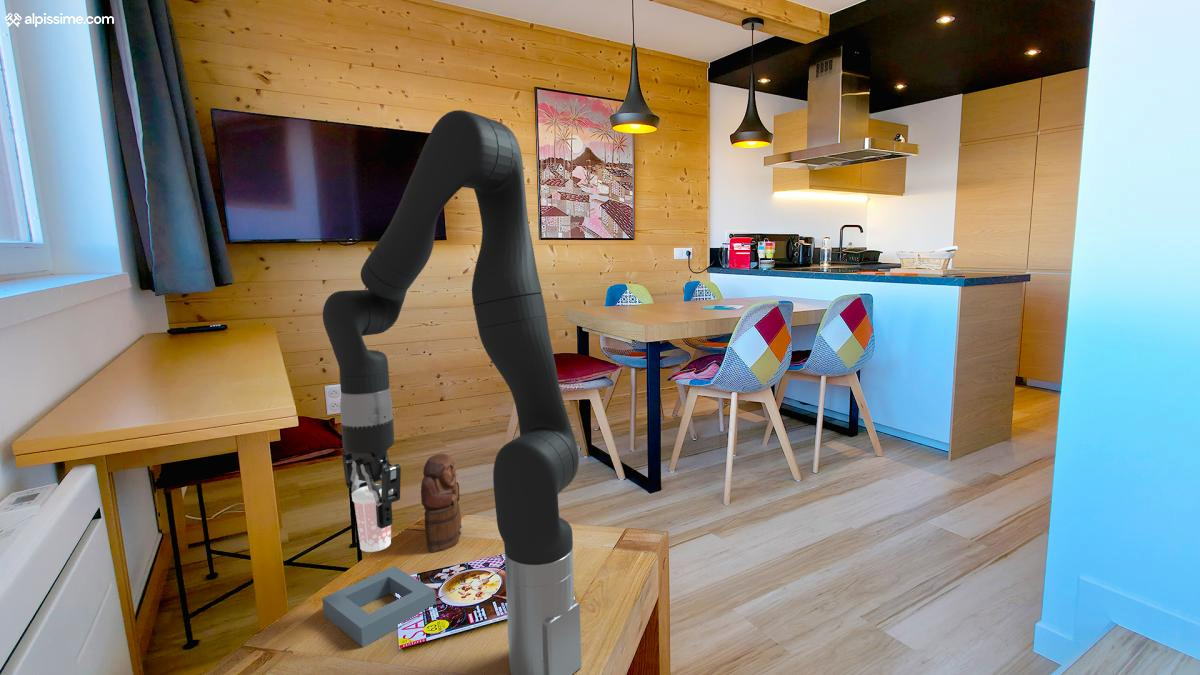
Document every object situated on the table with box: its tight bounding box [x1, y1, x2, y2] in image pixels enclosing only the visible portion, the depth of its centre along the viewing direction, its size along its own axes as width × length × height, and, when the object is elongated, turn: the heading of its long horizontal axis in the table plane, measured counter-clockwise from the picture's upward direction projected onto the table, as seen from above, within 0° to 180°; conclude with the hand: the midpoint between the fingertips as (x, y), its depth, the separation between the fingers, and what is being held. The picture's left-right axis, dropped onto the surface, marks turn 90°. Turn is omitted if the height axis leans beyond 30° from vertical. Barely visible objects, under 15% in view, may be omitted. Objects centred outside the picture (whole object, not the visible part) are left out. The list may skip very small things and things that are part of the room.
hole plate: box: [321, 565, 437, 648], centre depth 92 cm, size 13×13×3 cm
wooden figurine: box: [420, 453, 463, 553], centre depth 116 cm, size 12×6×18 cm, turn 3°
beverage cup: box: [351, 483, 393, 553], centre depth 90 cm, size 6×6×14 cm
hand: (374, 520), depth 90 cm, fingers closed on beverage cup, 6 cm apart
